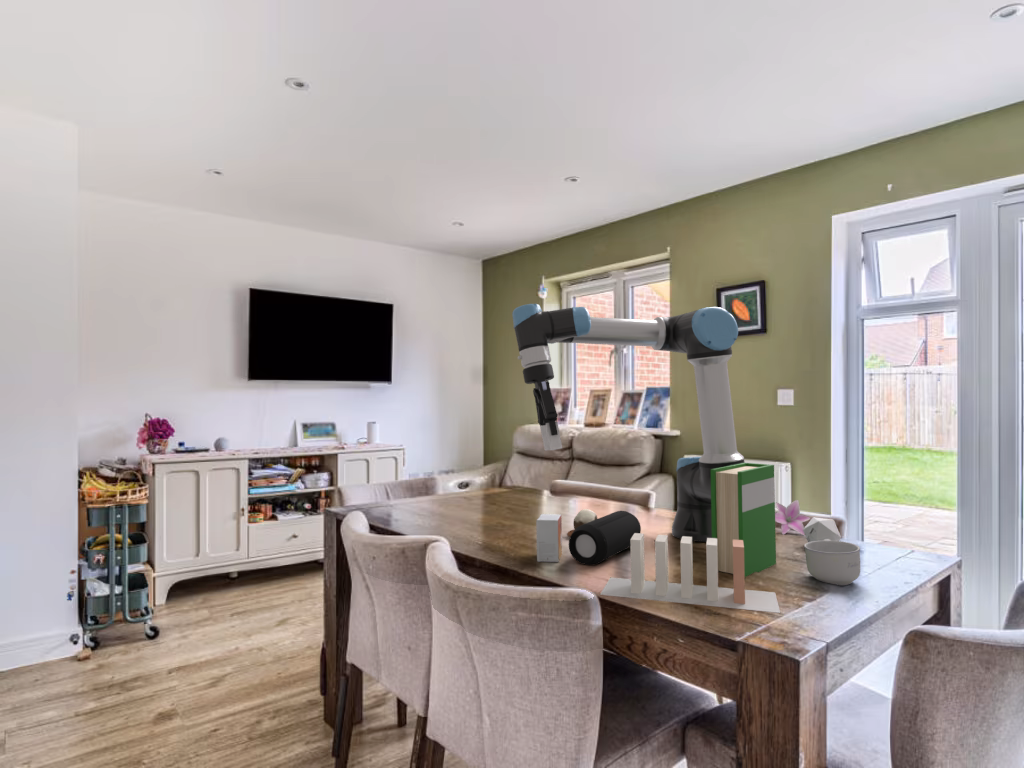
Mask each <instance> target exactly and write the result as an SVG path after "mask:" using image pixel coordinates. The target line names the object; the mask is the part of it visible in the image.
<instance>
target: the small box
mask: <svg viewBox="0 0 1024 768" xmlns="http://www.w3.org/2000/svg"><path fill="white" fill-rule="evenodd" d="M562 518H563V517H562V514H557V513H555V514H554V513H551V514H550V513H549V514H548V513H541V514H540V515H539V517H538V518H537V519H536V520H535V521H536V528H535V529H536V561H537V562H543V563H546V562H547V563H560V559H561V558H562V555H563V550H562V549H563V538H562V537H563V536H562V535H563V533H562V532H563V531H562V527H563V526H562Z"/></svg>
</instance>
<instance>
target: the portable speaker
mask: <svg viewBox="0 0 1024 768" xmlns="http://www.w3.org/2000/svg"><path fill="white" fill-rule="evenodd" d="M573 530H574V529H573ZM641 531H642V526H641V523H640V521H639V519H638V518H637V517H636V516H635V515H634V514H632V513H631V512H628V511H626V510H616V511H614V512H612V513H609V514H607V515H603V516H602V517H599V518H598V517H597V519H596V520H593V521H591V522H588V523H586V524H583V525H581V526H579V527H577V528H576V529H575V530H574V531H573V533H572V535H571V537H569V539H568V550H569V552H570V553H569V554H571V557H572V558H573V559H574V560H575V561H576V562H578V563H579V564H583V565H586V566H587V565H588V566H590V565H594V566H595V565H598V564H600V563H602V562H604V561H606V560H608V559H609V558H611V557H613V556H614V555H616V554H619V553H620V552H622V551H625V550H626V549H628V548H631V544H630V539H631V538H632V536H633V535H634V533H641Z"/></svg>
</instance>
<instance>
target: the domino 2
mask: <svg viewBox="0 0 1024 768" xmlns="http://www.w3.org/2000/svg"><path fill="white" fill-rule="evenodd" d="M668 540H669V538H668V534H657V536H656V538H655V541H654V549H655V550H654V552H655V555H654V559H655V562H654V565H655V567H654V569H655V581H656V595H659V596H666V594H667V591H668V587H669V583H670V582H669V541H668Z"/></svg>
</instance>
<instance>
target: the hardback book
mask: <svg viewBox="0 0 1024 768" xmlns="http://www.w3.org/2000/svg"><path fill="white" fill-rule="evenodd" d="M775 491H776V490H775V464H767V463H753V462H745V463H740V464H735V465H730V466H725V467H720V468H715V469H711V516H712V538H717V552H718V572H723V573H726V574H727V573H728V574H732V575H733V540H743V544H744V573H745V578H746V577H748V576H750V575H752V574H754V573H760V572H763V571H765V570H767V569H768V568H770V567H772V566H774V565H776V564H777V544H776V543H777V542H776V540H777V538H776V534H777V533H776V521H775V513H776V500H775V499H776V497H775V496H776V495H775V494H776V493H775Z"/></svg>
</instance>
